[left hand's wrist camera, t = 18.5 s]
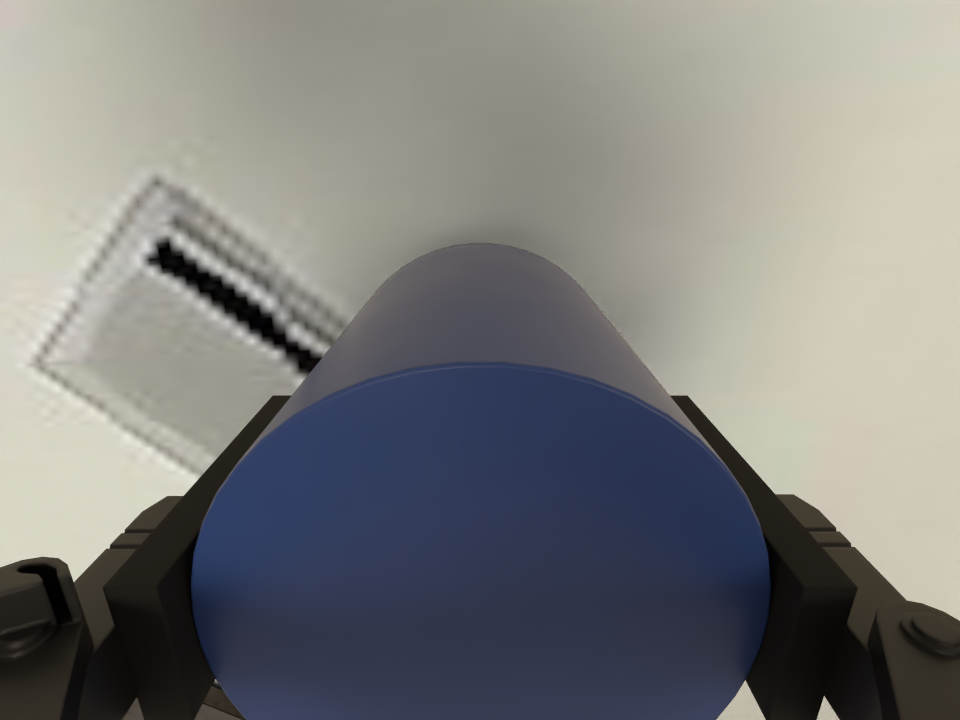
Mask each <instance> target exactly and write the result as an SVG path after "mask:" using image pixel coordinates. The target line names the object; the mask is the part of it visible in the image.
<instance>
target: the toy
mask: <svg viewBox="0 0 960 720" xmlns="http://www.w3.org/2000/svg"><path fill="white" fill-rule="evenodd" d="M123 720H144V718H143V715H142V712H141V708H140V705H139V702H138V699H137V698H136V699H135V701H134V702H133V704H132V706H131V707H130V709H129V710H128V712H127V713H126V715H125V716H124V718H123ZM195 720H246V719H245V718H244V717H243V716H242V714H241V713H240V712H239V711H238V710H237V708H236V707H235V706H234V705H233V703H232V702H231V701H230V700H229V698H228V697H227V696H226V695H225V693H224V691H223V690H220V689H218V688H215V687H213V686H211V688H210V690H209V692H208V694H207V696H206V698H205V700H204V702H203V704H202V706H201V708H200V710H199V712H198V714H197V716H196V718H195Z"/></svg>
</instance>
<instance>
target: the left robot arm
mask: <svg viewBox="0 0 960 720" xmlns="http://www.w3.org/2000/svg"><path fill="white" fill-rule="evenodd" d="M290 397H291V396H272V397H271V398H270V400H269V401H268V402H267V403H266V404H265V405H264V406H263V407H262V409H261V410H260V411H259V412H258V413H257V414H256V415H255V416H254V418H253V419H252V420H251V421H250V422H249V423H248V424H247V425H246V427H245V428H244V429H243V430H242V431H241V432H240V433H239V434H238V436H237V437H236V438H235V439H234V440H233V441H232V442H231V443H230V445H229V446H228V447H227V448H226V449H225V450H224V451H223V452H222V454H221V455H220V456H219V457H218V458H217V459H216V460H215V461H214V463H213V464H212V465H211V466H210V467H209V468H208V469H207V470H206V472H205V473H204V474H203V475H202V476H201V477H200V478H199V479H198V481H197V482H196V483H195V484H194V485H193V486H192V487H191V488H190V490H189V491H188V492H187V493H186V494H185V495H184V496H167V497H165V498H164V499H162V500H160V501H159V502H157V503H156V504H154V505H152V506H151V507H149V508H148V509H146V510H144V511H143V512H142V513H141V514H140V515H139V516H138V517H137V518H136V519H135V520H134V521H133V522H132V523H131V524H130V525H129V526H128V527H127V528H126V529H125V533H121V534H120V535H119V536H118V537H117V538H116V540H115V541H114V542H113V543H112V544H111V545H110V549H106V550H105V551H104V552H103V553H102V554H101V555H100V556H99V557H98V558H97V559H96V560H95V561H94V562H93V563H92V564H91V565H90V566H89V567H88V568H87V569H86V571H85V572H84V573H83V574H82V575H81V576H80V577H79V578H78V579H77V580H76V581H75V582H73V579H72V576H71V574H70V571H69V568H68V565H67V564H66V563H65V562H63V561H62V560H60V559H59V558H49V557H39V558H33V559H27V560H21V561H18V562H15V563H12V564H9V565H6V566H3V567H0V720H123V718H124V716H125V715H126V713H127V712H128V710H129V709H130V707H131V706H132V704H133V702H134V701H135V699H136V698H137V699H138V702H139V705H140V708H141V712H142V715H143V718H144V720H195V718H196V716H197V714H198V712H199V710H200V708H201V706H202V704H203V702H204V700H205V698H206V696H207V694H208V692H209V690H210V688H211V686H212V684H213V682H214V681H215V679H216V678H215V676H214V675H213V673H212V671H211V669H210V667H209V665H208V662H207V660H206V658H205V655H204V653H203V650H202V648H201V646H200V643H199V639H198V635H197V631H196V627H195V623H194V619H193V613H192V599H191V576H192V566H193V556H194V550H195V547H196V543H197V540H198V536H199V533H200V529H201V525H202V522H203V520H204V518H205V516H206V514H207V512H208V510H209V508H210V505H211V503H212V501H213V499H214V497H215V495H216V493H217V491H218V490H219V489H220V487H221V486H222V484H223V483H224V481H225V480H226V479H227V477H228V476H229V474H230V473H231V471H232V470H233V469H234V467H235V466H236V464H237V463H238V462H239V461H240V459H241V458H242V457H243V456H244V454H245V453H246V452H247V451H248V449H249V448H250V447H251V446H252V444H253V443H254V442H255V441H256V439H257V438H258V437H259V436H260V434H261V433H262V432H263V431H264V430H265V428H266V427H267V426H268V425H269V423H270V422H271V421H272V420H273V418H274V417H275V416H276V415H277V413H278V412H279V411H280V410H281V408H282V407H283V406H284V405H285V404H286V402H287V401H288V400H289V399H290ZM670 397H671V398H672V399H673V400H674V402H675V403H676V404H677V405H678V407H679V408H680V409H681V410H682V411H683V413H684V414H685V415H686V416H687V418H688V419H689V420H690V421H691V423H692V424H693V425H694V426H695V428H696V429H697V430H698V431H699V432H700V434H701V435H702V436H703V437H704V439H705V440H706V441H707V442H708V444H709V445H710V446H711V447H712V448H713V450H714V451H715V452H716V453H717V455H718V456H719V457H720V458H721V460H722V461H723V462H724V463H725V464H726V466H727V467H728V469H729V470H730V472H731V473H732V475H733V476H734V477H735V479H736V480H737V482H738V483H739V485H740V486H741V487H742V489H743V490H744V492H745V493H746V495H747V497H748V499H749V502H750V504H751V506H752V508H753V510H754V512H755V514H756V516H757V519H758V521H759V523H760V526H761V530H762V533H763V537H764V541H765V544H766V548H767V551H768V557H769V568H770V578H771V596H770V609H769V618H768V622H767V626H766V630H765V634H764V638H763V642H762V645H761V648H760V650H759V652H758V655H757V657H756V659H755V662H754V664H753V666H752V669H751V671H750V673H749V674H748V676H747V678H746V679H745V680H746V682H747V684H748V686H749V688H750V690H751V692H752V693H753V695H754V697H755V699H756V701H757V703H758V705H759V707H760V709H761V711H762V713H763V715H764V717H765V719H766V720H816V719H817V716H818V713H819V710H820V707H821V703H822V700H823V697H824V696H825V697H826V699H827V701H828V702H829V704H830V705H831V707H832V708H833V710H834V711H835V713H836V714H837V716H838V718H839V719H840V720H960V621H959V620H957V619H955V618H954V617H952V616H950V615H949V614H947V613H945V612H943V611H940V610H938V609H935V608H932V607H930V606H927V605H925V604H922V603H916V602H911V601H907V600H906V599H905V598H904V597H903V596H902V595H901V594H900V593H899V592H898V591H897V590H896V589H895V588H894V587H893V586H892V585H891V584H890V583H889V582H888V581H887V580H886V579H885V578H884V577H883V576H882V575H881V574H880V573H879V572H878V571H877V570H876V569H875V568H874V566H873V565H872V564H871V563H870V562H869V561H868V560H867V559H866V558H865V557H864V556H863V555H862V554H861V553H860V552H859V551H858V550H857V549H856V548H855V547H851V543H850V542H849V541H848V540H847V539H846V538H845V537H844V536H843V535H842V534H841V533H840V532H837V531H836V527H835V526H834V525H833V524H832V523H831V522H830V521H829V520H828V519H827V518H826V517H825V516H824V515H823V514H822V513H821V512H820V511H819V510H818V509H816V508H814V507H813V506H811V505H810V504H808V503H806V502H805V501H803V500H801V499H800V498H798V497H797V496H795V495H775V494H774V492H773V491H772V490H771V489H770V488H769V487H768V486H767V485H766V483H765V482H764V481H763V480H762V479H761V478H760V477H759V476H758V474H757V473H756V472H755V471H754V470H753V469H752V468H751V467H750V465H749V464H748V463H747V462H746V461H745V460H744V459H743V458H742V456H741V455H740V454H739V453H738V452H737V451H736V450H735V449H734V447H733V446H732V445H731V444H730V443H729V442H728V441H727V440H726V438H725V437H724V436H723V435H722V434H721V433H720V432H719V431H718V429H717V428H716V427H715V426H714V425H713V424H712V423H711V422H710V420H709V419H708V418H707V417H706V416H705V415H704V414H703V413H702V411H701V410H700V409H699V408H698V407H697V406H696V405H695V404H694V402H693V401H692V400H691V399H690V398H689V397H688V396H670Z"/></svg>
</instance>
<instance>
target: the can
mask: <svg viewBox="0 0 960 720" xmlns="http://www.w3.org/2000/svg"><path fill="white" fill-rule="evenodd" d="M770 596H771V578H770V568H769V557H768V551H767V548H766V544H765V541H764V537H763V533H762V530H761V526H760V523H759V521H758V519H757V516H756V514H755V512H754V510H753V508H752V506H751V504H750V502H749V499H748V497H747V495H746V493H745V492H744V490H743V489H742V487H741V486H740V485H739V483H738V482H737V480H736V479H735V477H734V476H733V475H732V473H731V472H730V470H729V469H728V467H727V466H726V464H725V463H724V462H723V461H722V460H721V458H720V457H719V456H718V455H717V453H716V452H715V451H714V450H713V448H712V447H711V446H710V445H709V444H708V442H707V441H706V440H705V439H704V437H703V436H702V435H701V434H700V432H699V431H698V430H697V429H696V428H695V426H694V425H693V424H692V423H691V421H690V420H689V419H688V418H687V416H686V415H685V414H684V413H683V411H682V410H681V409H680V408H679V407H678V405H677V404H676V403H675V402H674V400H673V399H672V398H671V397H670V395H669V394H668V393H667V392H666V391H665V389H664V388H663V387H662V386H661V384H660V383H659V382H658V381H657V379H656V378H655V377H654V376H653V375H652V373H651V372H650V371H649V370H648V368H647V367H646V366H645V365H644V363H643V362H642V361H641V360H640V359H639V357H638V356H637V355H636V354H635V352H634V351H633V350H632V349H631V347H630V346H629V345H628V344H627V342H626V341H625V340H624V339H623V338H622V336H621V335H620V334H619V333H618V331H617V330H616V329H615V328H614V326H613V325H612V324H611V323H610V322H609V320H608V319H607V318H606V317H605V315H604V314H603V313H602V312H601V310H600V309H599V308H598V307H597V306H596V304H595V303H594V302H593V301H592V299H591V298H590V297H589V296H588V294H587V293H586V292H585V291H584V290H583V289H582V288H581V287H580V285H579V284H578V283H577V282H576V281H575V280H574V279H573V278H572V277H570V276H569V275H568V274H567V273H565V272H564V271H563V270H562V269H560V268H559V267H558V266H556V265H554V264H553V263H551V262H549V261H548V260H546V259H544V258H542V257H540V256H537V255H535V254H533V253H530V252H528V251H525V250H522V249H518V248H514V247H511V246H505V245H498V244H491V243H471V244H463V245H456V246H450V247H447V248H443V249H439V250H436V251H433V252H431V253H428V254H426V255H424V256H421V257H419V258H417V259H415V260H414V261H412V262H410V263H408V264H407V265H405V266H403V267H402V268H401V269H399V270H398V271H397V272H396V273H394V274H393V275H392V276H391V277H389V278H388V279H387V280H386V281H385V282H384V283H383V285H382V286H381V287H380V288H379V289H378V290H377V291H376V292H375V293H374V295H373V296H372V297H371V298H370V299H369V301H368V302H367V303H366V304H365V306H364V307H363V308H362V309H361V311H360V312H359V313H358V314H357V316H356V317H355V318H354V319H353V321H352V322H351V323H350V324H349V325H348V327H347V328H346V329H345V330H344V332H343V333H342V334H341V335H340V337H339V338H338V339H337V340H336V342H335V343H334V344H333V345H332V347H331V348H330V349H329V350H328V352H327V353H326V354H325V355H324V356H323V358H322V359H321V360H320V361H319V363H318V364H317V365H316V366H315V368H314V369H313V370H312V371H311V373H310V374H309V375H308V376H307V378H306V379H305V380H304V381H303V382H302V384H301V385H300V386H299V387H298V389H297V390H296V391H295V392H294V394H293V395H292V396H291V397H290V399H289V400H288V401H287V402H286V404H285V405H284V406H283V407H282V408H281V410H280V411H279V412H278V413H277V415H276V416H275V417H274V418H273V420H272V421H271V422H270V423H269V425H268V426H267V427H266V428H265V430H264V431H263V432H262V433H261V434H260V436H259V437H258V438H257V439H256V441H255V442H254V443H253V444H252V446H251V447H250V448H249V449H248V451H247V452H246V453H245V454H244V456H243V457H242V458H241V459H240V461H239V462H238V463H237V464H236V466H235V467H234V469H233V470H232V471H231V473H230V474H229V476H228V477H227V479H226V480H225V481H224V483H223V484H222V486H221V487H220V489H219V490H218V491H217V493H216V495H215V497H214V499H213V501H212V503H211V505H210V508H209V510H208V512H207V514H206V516H205V518H204V520H203V522H202V525H201V529H200V533H199V536H198V540H197V543H196V547H195V550H194V556H193V566H192V576H191V599H192V613H193V619H194V623H195V627H196V631H197V635H198V639H199V643H200V646H201V648H202V650H203V653H204V655H205V658H206V660H207V662H208V665H209V667H210V669H211V671H212V673H213V675H214V676H215V678H216V680H217V681H218V683H219V685H220V686H221V688H222V690H223V691H224V693H225V695H226V696H227V697H228V698H229V700H230V701H231V702H232V703H233V705H234V706H235V707H236V708H237V710H238V711H239V712H240V713H241V714H242V716H243V717H244V718H245V719H246V720H716V719H717V718H718V717H719V715H720V714H721V713H722V712H723V710H724V709H725V708H726V707H727V706H728V704H729V703H730V702H731V701H732V699H733V698H734V697H735V696H736V694H737V692H738V691H739V689H740V687H741V686H742V684H743V683H744V681H745V679H746V678H747V676H748V674H749V673H750V671H751V669H752V666H753V664H754V662H755V659H756V657H757V655H758V652H759V650H760V648H761V645H762V642H763V638H764V634H765V630H766V626H767V622H768V618H769V609H770Z"/></svg>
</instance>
